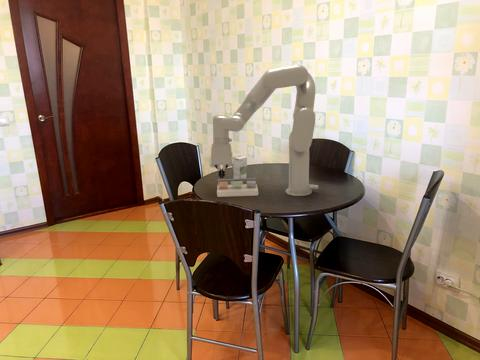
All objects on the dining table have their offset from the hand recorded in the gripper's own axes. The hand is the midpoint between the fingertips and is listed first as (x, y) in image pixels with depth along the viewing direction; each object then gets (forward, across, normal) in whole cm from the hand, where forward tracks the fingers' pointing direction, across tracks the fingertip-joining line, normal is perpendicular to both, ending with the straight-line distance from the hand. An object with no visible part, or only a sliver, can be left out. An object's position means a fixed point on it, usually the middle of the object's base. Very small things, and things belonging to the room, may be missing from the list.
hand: (221, 177), depth 186 cm
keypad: (+8, -8, 0) cm, 11 cm away
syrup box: (+8, -10, -18) cm, 22 cm away
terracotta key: (+4, -1, 0) cm, 4 cm away
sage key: (+4, -8, 0) cm, 9 cm away
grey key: (+4, -15, 0) cm, 15 cm away
